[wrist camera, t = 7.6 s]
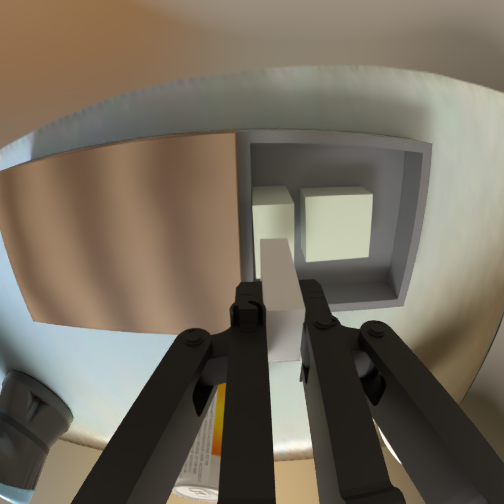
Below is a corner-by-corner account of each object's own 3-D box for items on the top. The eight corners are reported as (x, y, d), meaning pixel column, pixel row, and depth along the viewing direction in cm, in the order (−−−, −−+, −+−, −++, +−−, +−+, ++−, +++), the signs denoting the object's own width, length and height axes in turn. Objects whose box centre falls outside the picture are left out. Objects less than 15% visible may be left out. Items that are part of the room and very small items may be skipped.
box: (245, 291, 27) (244, 315, 24) (239, 129, 21) (236, 131, 18) (389, 285, 27) (403, 306, 23) (410, 138, 21) (432, 143, 17)
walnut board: (61, 288, 27) (33, 321, 22) (30, 160, 21) (-12, 175, 16) (245, 291, 27) (243, 335, 21) (239, 129, 21) (234, 133, 15)
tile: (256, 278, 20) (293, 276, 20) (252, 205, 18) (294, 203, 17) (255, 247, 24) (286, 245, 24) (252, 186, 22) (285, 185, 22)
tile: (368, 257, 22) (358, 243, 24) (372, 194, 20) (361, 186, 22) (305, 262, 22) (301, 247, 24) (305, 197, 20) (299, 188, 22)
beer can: (199, 394, 34) (184, 502, 20) (180, 363, 31) (153, 482, 18) (246, 388, 33) (244, 503, 19) (231, 355, 30) (222, 485, 17)
